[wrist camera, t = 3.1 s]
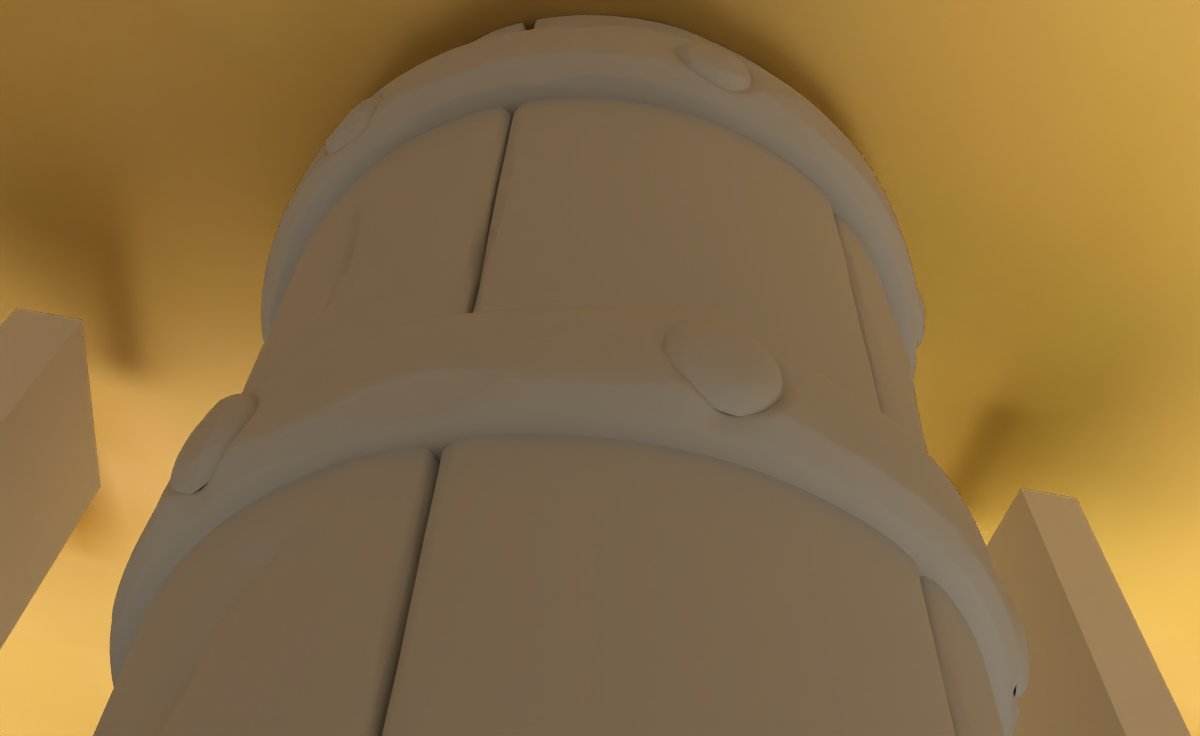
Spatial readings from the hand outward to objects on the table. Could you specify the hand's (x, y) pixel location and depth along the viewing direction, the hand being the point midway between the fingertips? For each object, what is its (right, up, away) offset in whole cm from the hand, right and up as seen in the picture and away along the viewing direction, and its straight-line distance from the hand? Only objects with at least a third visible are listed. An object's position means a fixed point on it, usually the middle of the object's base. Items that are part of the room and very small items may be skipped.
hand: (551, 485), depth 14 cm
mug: (0, +1, +2) cm, 2 cm away
